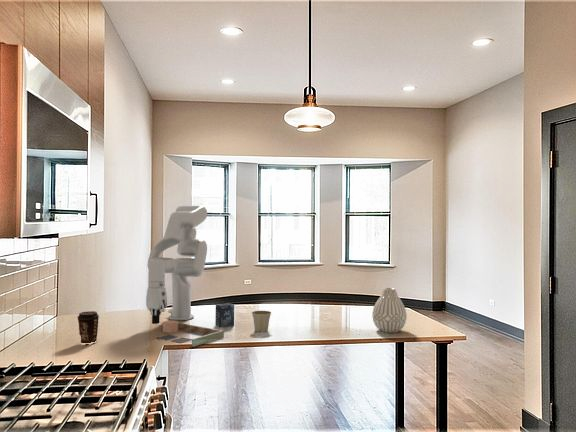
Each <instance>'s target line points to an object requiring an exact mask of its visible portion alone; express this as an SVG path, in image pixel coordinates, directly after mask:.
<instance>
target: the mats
mask: <svg viewBox="0 0 576 432" xmlns="http://www.w3.org/2000/svg"><path fill="white" fill-rule="evenodd" d="M158 338H159V339H158ZM175 338H176V339H175ZM157 339H158V340H163V339H164V340H163V341H168V339H169V340H171V342H172V343H177V344H183V343H186V342H189V341H192V339H193V338H187V337H179V338H178V336H177V335H172V334H166V335H162V336H158V337H157Z"/></svg>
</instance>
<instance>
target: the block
mask: <svg viewBox="0 0 576 432" xmlns="http://www.w3.org/2000/svg"><path fill="white" fill-rule="evenodd" d="M178 323H179V320H171V319H169V320H166V321H162V332H164V331H165V333H169V332H170V333H174V332H179V330H178ZM170 333H169V334H170Z"/></svg>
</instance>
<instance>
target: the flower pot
mask: <svg viewBox="0 0 576 432" xmlns="http://www.w3.org/2000/svg"><path fill="white" fill-rule="evenodd" d="M251 314H252V317H253V325H254V331H255V332H259V333H261V332H262V333H265V332H268V331H269V325H270V318H271V315H272V311H269V310H254V311H251Z"/></svg>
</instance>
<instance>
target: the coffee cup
mask: <svg viewBox="0 0 576 432" xmlns="http://www.w3.org/2000/svg"><path fill="white" fill-rule="evenodd" d="M99 318H100V316H99V314H98V311H93V310H92V311H82V312H79V313H78V315H77V322H78V334H79V336H80V342H81V343H91V342H95V341H97V340H98V333H99V332H98V331H99Z"/></svg>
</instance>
